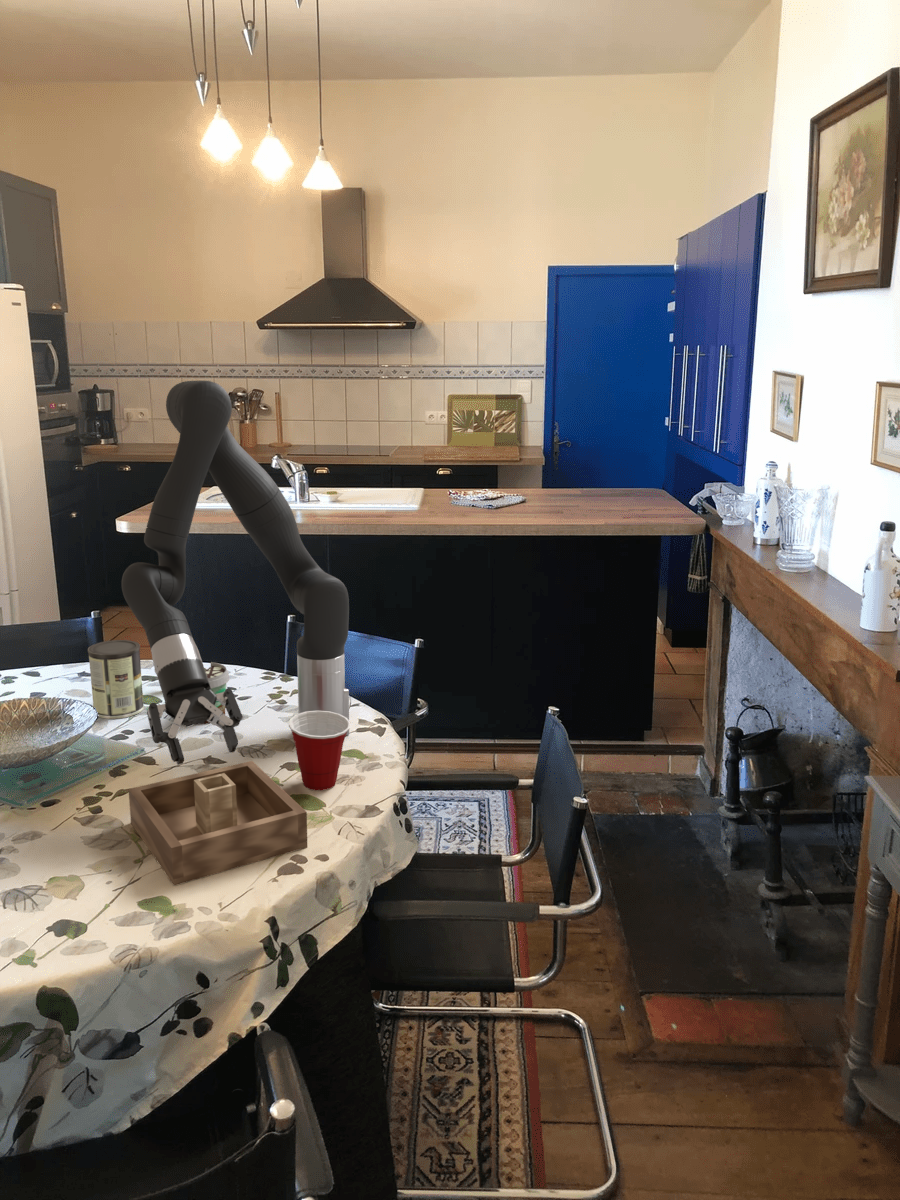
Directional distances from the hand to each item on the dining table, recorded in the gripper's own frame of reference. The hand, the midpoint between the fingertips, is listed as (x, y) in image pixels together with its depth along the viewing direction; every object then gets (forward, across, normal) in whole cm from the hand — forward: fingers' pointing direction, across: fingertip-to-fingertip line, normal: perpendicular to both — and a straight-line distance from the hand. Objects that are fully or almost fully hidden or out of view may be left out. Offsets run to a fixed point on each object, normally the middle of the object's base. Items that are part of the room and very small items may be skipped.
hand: (207, 756), depth 152 cm
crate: (+11, 0, +6) cm, 13 cm away
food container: (-22, +17, +40) cm, 49 cm away
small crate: (+10, 0, +5) cm, 12 cm away
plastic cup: (+6, +22, +12) cm, 25 cm away
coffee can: (-33, +1, +50) cm, 60 cm away
